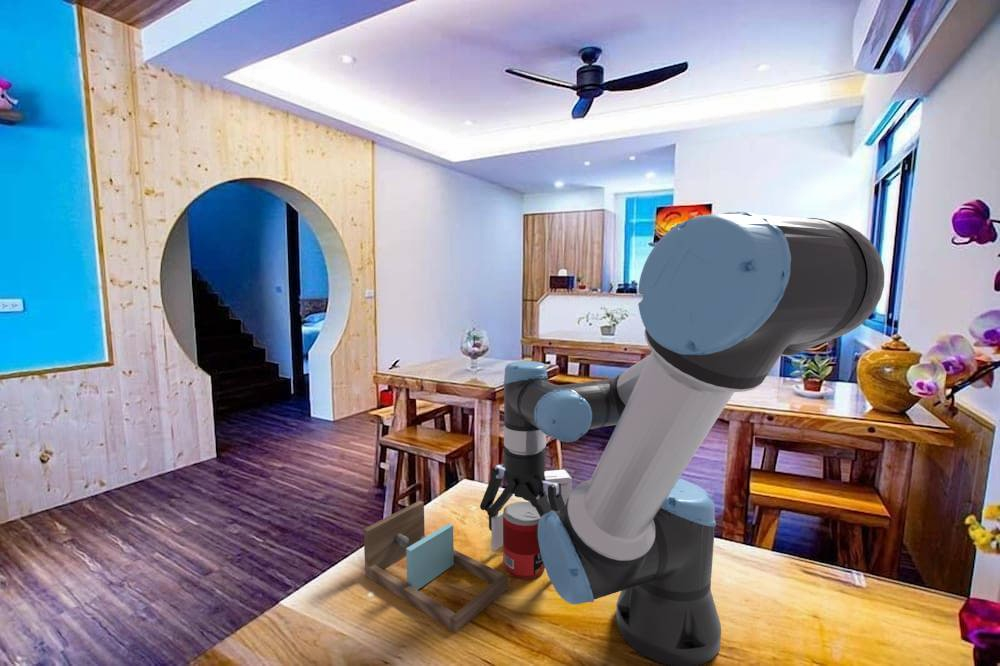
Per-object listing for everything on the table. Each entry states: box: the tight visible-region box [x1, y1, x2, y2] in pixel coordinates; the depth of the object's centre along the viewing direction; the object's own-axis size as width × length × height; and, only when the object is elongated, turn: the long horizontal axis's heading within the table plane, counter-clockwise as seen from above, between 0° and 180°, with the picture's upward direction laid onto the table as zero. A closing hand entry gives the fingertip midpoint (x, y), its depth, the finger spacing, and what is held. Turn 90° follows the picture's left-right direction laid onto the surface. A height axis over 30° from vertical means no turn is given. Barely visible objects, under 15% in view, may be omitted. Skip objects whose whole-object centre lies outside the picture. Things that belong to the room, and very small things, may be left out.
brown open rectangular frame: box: [363, 500, 510, 634], centre depth 84 cm, size 22×13×9 cm, turn 52°
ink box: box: [527, 469, 573, 505], centre depth 102 cm, size 9×5×12 cm, turn 99°
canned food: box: [502, 501, 546, 580], centre depth 88 cm, size 8×8×11 cm
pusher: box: [405, 523, 455, 591], centre depth 85 cm, size 3×10×8 cm, turn 142°
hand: (524, 559), depth 88 cm, fingers open, 12 cm apart
